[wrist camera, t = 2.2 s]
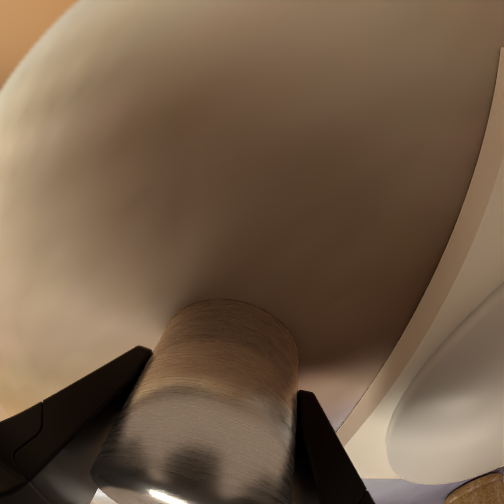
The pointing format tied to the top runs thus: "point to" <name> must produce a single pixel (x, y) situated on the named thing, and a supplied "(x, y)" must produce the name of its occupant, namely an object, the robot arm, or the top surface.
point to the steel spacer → (208, 414)
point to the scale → (447, 351)
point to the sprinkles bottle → (480, 491)
